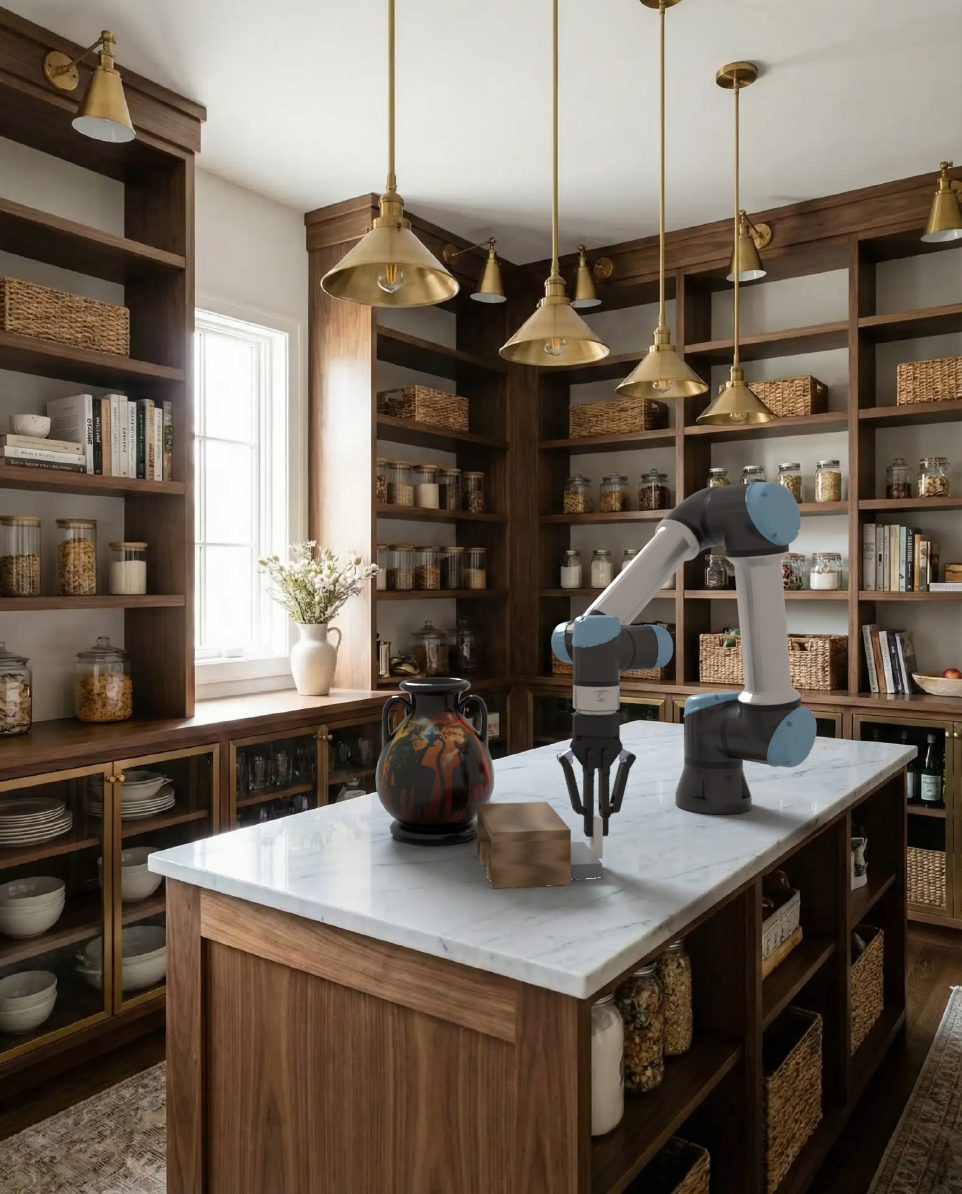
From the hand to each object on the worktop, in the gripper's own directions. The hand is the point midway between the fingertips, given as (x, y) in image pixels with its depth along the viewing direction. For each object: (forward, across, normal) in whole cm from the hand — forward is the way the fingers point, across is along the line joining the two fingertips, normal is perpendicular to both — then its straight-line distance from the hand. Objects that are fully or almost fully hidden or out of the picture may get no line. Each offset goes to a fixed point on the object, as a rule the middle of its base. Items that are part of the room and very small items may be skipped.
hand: (596, 856), depth 155 cm
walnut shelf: (+2, -12, 0) cm, 12 cm away
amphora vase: (+2, -24, +22) cm, 33 cm away
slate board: (+2, -9, 0) cm, 9 cm away
